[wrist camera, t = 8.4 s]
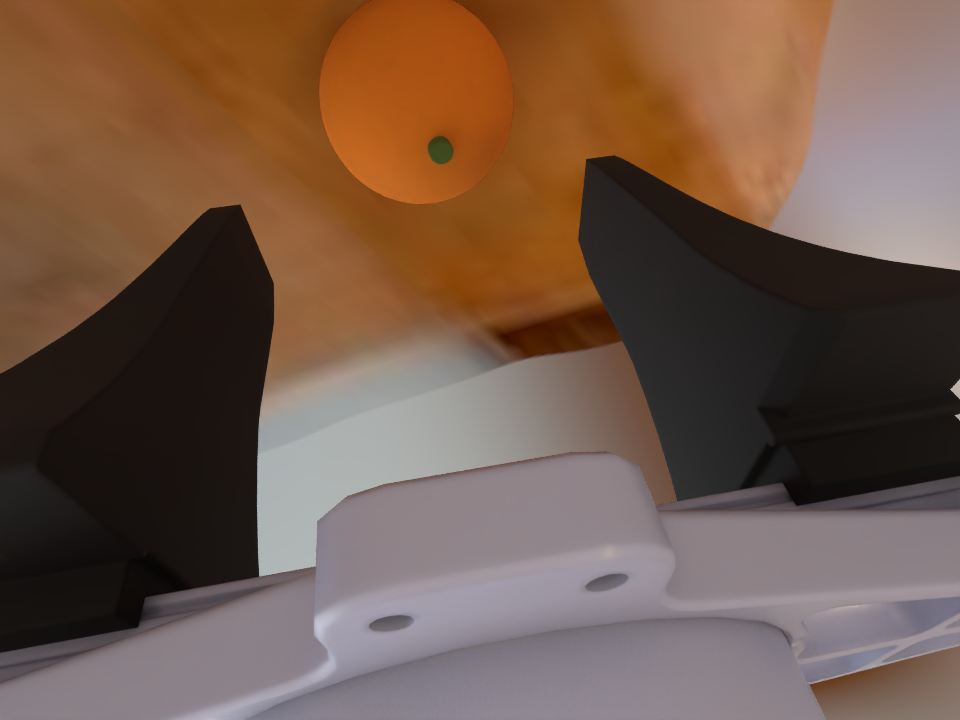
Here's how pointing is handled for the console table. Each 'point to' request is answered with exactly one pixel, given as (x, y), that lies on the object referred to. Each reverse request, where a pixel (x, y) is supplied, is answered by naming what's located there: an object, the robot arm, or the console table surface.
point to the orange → (416, 98)
